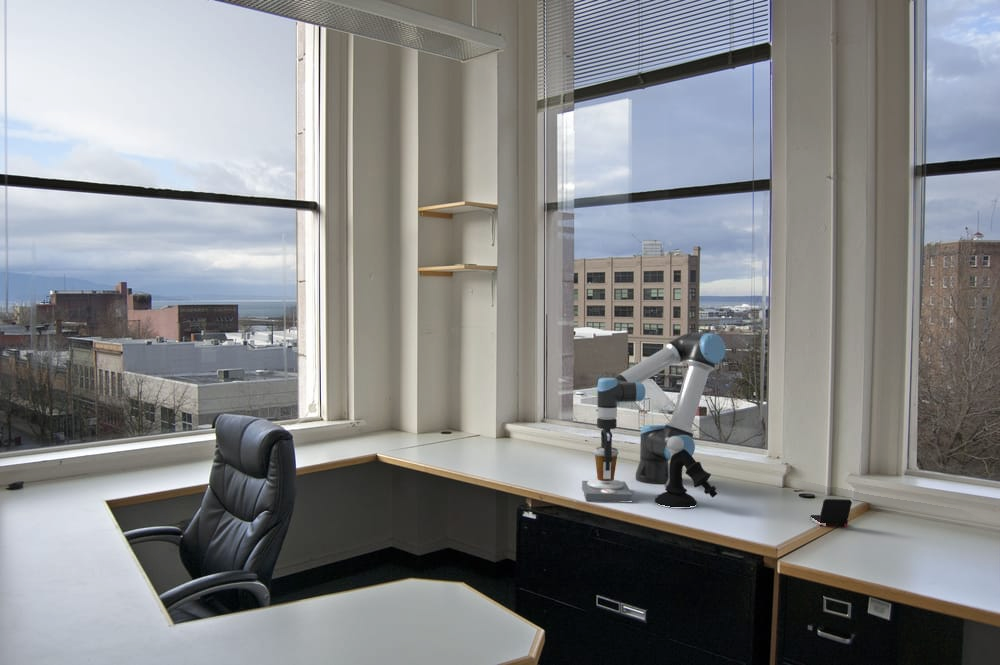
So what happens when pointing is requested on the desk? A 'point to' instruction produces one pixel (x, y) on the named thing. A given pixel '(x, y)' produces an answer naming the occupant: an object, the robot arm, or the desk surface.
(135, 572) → the desk surface
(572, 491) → the desk surface
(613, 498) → the dial scale
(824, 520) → the handheld gaming console
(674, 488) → the sculpture
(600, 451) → the disposable coffee cup
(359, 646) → the desk surface
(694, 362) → the robot arm
